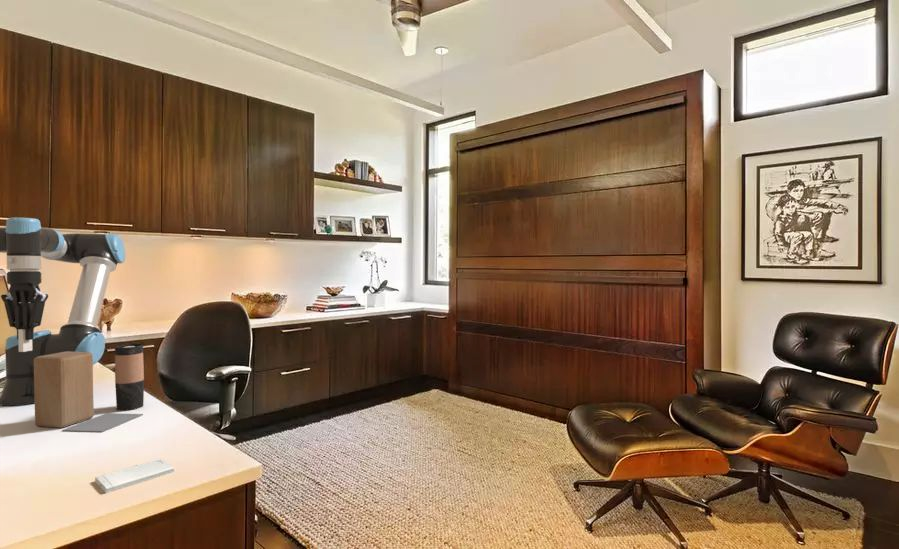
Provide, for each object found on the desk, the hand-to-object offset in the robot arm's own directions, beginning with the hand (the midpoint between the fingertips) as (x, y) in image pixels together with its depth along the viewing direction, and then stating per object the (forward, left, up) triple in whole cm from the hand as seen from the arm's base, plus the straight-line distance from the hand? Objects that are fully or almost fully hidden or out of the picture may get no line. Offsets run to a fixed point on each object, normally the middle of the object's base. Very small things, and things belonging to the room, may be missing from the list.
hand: (25, 351), depth 137 cm
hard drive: (+60, -32, -22) cm, 71 cm away
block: (+12, 0, -21) cm, 24 cm away
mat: (+24, +1, -21) cm, 32 cm away
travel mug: (+20, +15, -21) cm, 33 cm away
